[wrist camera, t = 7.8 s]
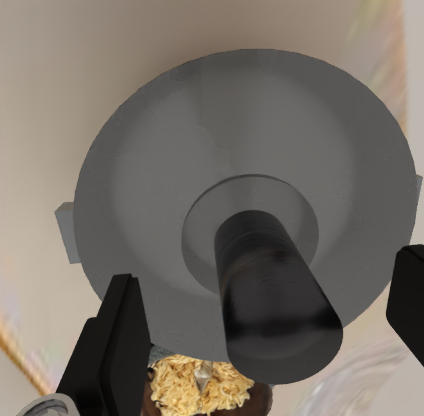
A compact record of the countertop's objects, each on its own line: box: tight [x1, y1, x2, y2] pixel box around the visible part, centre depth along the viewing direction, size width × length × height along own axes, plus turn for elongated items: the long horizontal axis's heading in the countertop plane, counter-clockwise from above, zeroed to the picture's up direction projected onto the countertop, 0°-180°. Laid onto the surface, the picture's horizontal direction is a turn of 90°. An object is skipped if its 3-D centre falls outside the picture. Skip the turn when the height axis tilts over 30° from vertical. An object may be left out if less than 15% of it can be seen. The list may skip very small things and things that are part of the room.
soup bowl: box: [141, 343, 275, 416], centre depth 25 cm, size 15×16×7 cm
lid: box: [73, 49, 417, 385], centre depth 12 cm, size 15×15×7 cm
